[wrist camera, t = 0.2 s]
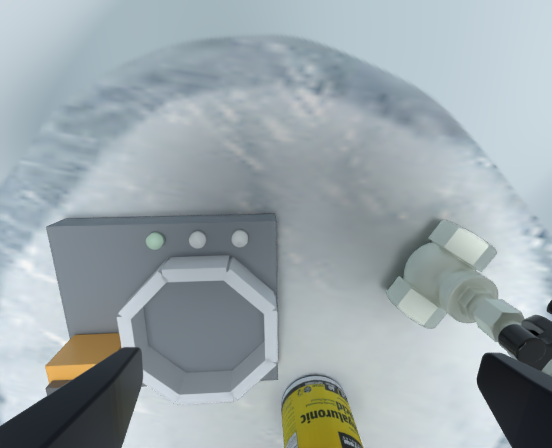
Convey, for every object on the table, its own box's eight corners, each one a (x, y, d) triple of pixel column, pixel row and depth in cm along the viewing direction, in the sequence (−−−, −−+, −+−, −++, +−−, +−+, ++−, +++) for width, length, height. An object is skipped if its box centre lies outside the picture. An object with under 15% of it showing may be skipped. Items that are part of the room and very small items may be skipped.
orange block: (135, 370, 22) (112, 413, 19) (82, 372, 22) (48, 416, 18) (129, 332, 21) (104, 370, 18) (74, 335, 21) (38, 373, 18)
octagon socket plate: (276, 361, 25) (279, 401, 21) (94, 369, 24) (63, 413, 20) (274, 213, 22) (278, 230, 18) (65, 218, 21) (22, 236, 17)
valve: (361, 276, 24) (461, 410, 12) (416, 202, 22) (588, 272, 11) (428, 316, 25) (577, 473, 13) (484, 248, 23) (703, 356, 12)
